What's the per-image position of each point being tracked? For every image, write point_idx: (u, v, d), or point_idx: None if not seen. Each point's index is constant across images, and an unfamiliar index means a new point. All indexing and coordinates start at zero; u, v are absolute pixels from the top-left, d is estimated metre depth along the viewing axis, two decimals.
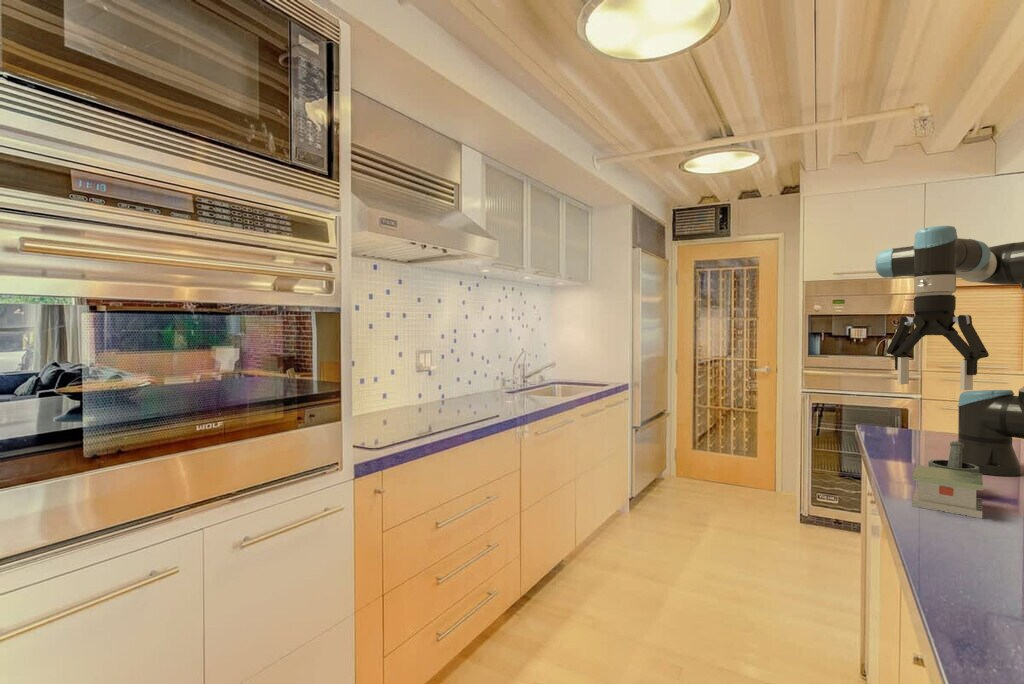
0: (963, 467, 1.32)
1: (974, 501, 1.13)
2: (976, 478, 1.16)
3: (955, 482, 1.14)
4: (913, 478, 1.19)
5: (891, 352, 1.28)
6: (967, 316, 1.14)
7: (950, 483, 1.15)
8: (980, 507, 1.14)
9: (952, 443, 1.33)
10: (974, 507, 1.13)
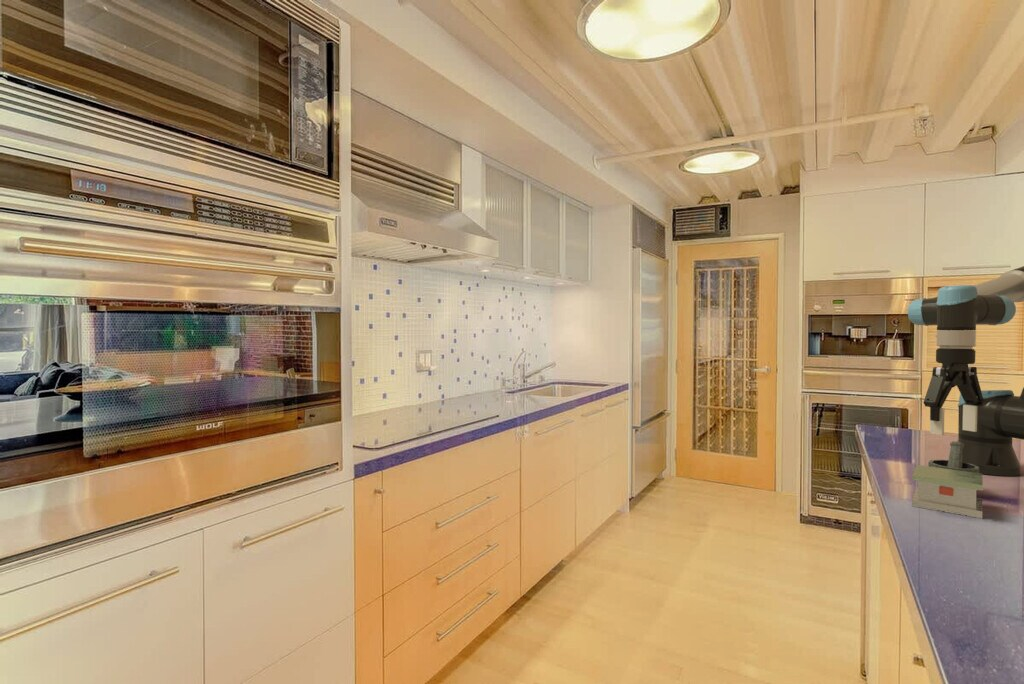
0: (963, 467, 1.32)
1: (974, 501, 1.13)
2: (976, 478, 1.16)
3: (955, 482, 1.14)
4: (913, 478, 1.19)
5: None
6: (938, 368, 1.28)
7: (950, 483, 1.15)
8: (980, 507, 1.14)
9: (952, 443, 1.33)
10: (974, 507, 1.13)
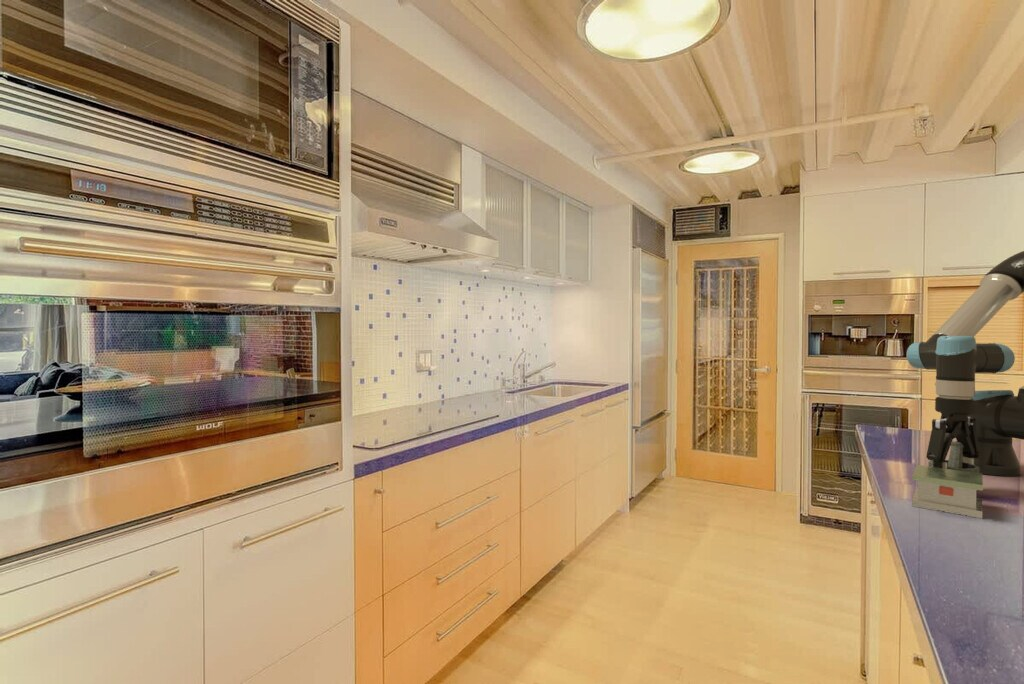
0: (963, 467, 1.32)
1: (974, 501, 1.13)
2: (976, 478, 1.16)
3: (955, 482, 1.14)
4: (913, 478, 1.19)
5: None
6: (937, 421, 1.28)
7: (950, 483, 1.15)
8: (980, 507, 1.14)
9: (952, 443, 1.33)
10: (974, 507, 1.13)
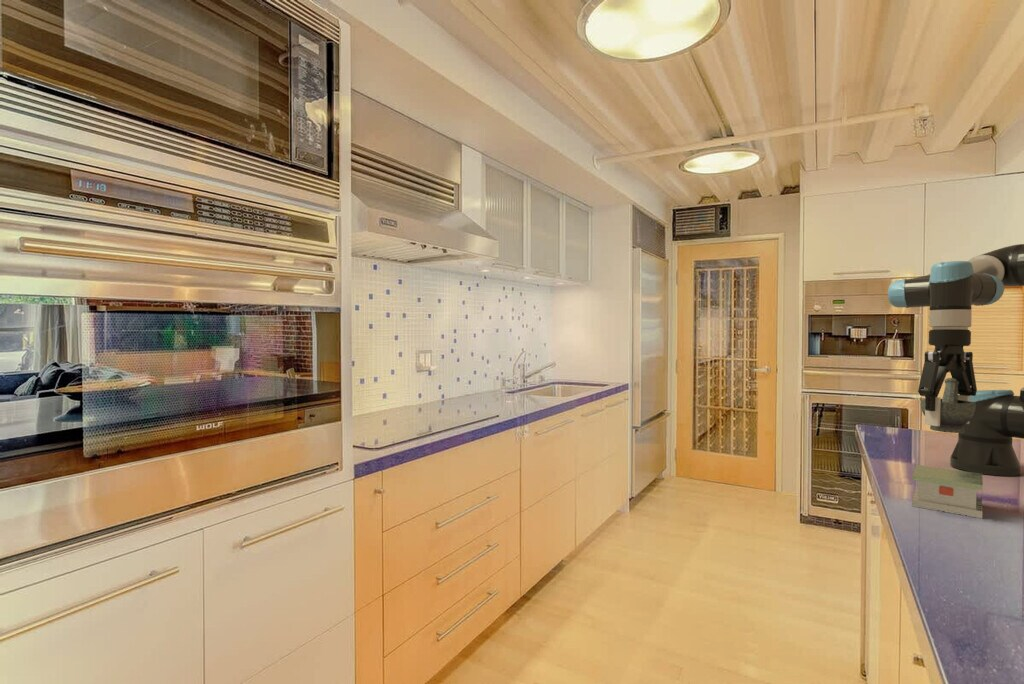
0: None
1: (974, 501, 1.13)
2: (976, 478, 1.16)
3: (955, 482, 1.14)
4: (913, 478, 1.19)
5: None
6: (930, 353, 1.18)
7: (950, 483, 1.15)
8: (980, 507, 1.14)
9: (947, 380, 1.24)
10: (974, 507, 1.13)
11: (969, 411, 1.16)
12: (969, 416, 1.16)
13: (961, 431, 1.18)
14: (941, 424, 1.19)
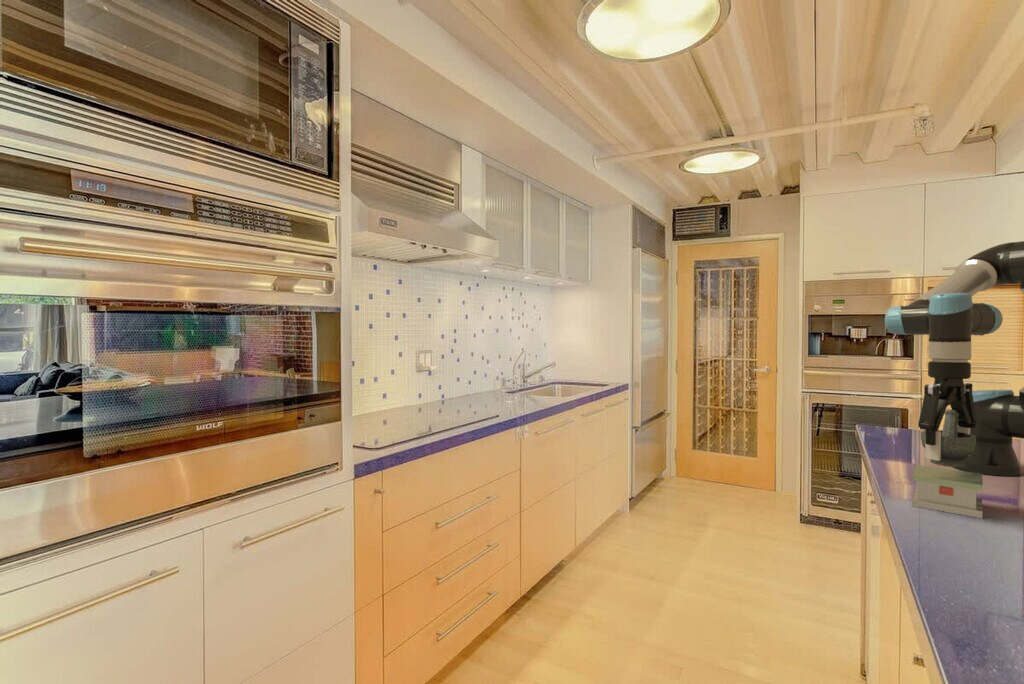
0: (959, 437, 1.21)
1: (974, 501, 1.13)
2: (976, 478, 1.16)
3: (955, 482, 1.14)
4: (913, 478, 1.19)
5: None
6: (930, 386, 1.17)
7: (950, 483, 1.15)
8: (980, 507, 1.14)
9: (947, 411, 1.22)
10: (974, 507, 1.13)
11: (970, 445, 1.15)
12: (970, 450, 1.15)
13: (962, 465, 1.17)
14: (941, 458, 1.18)
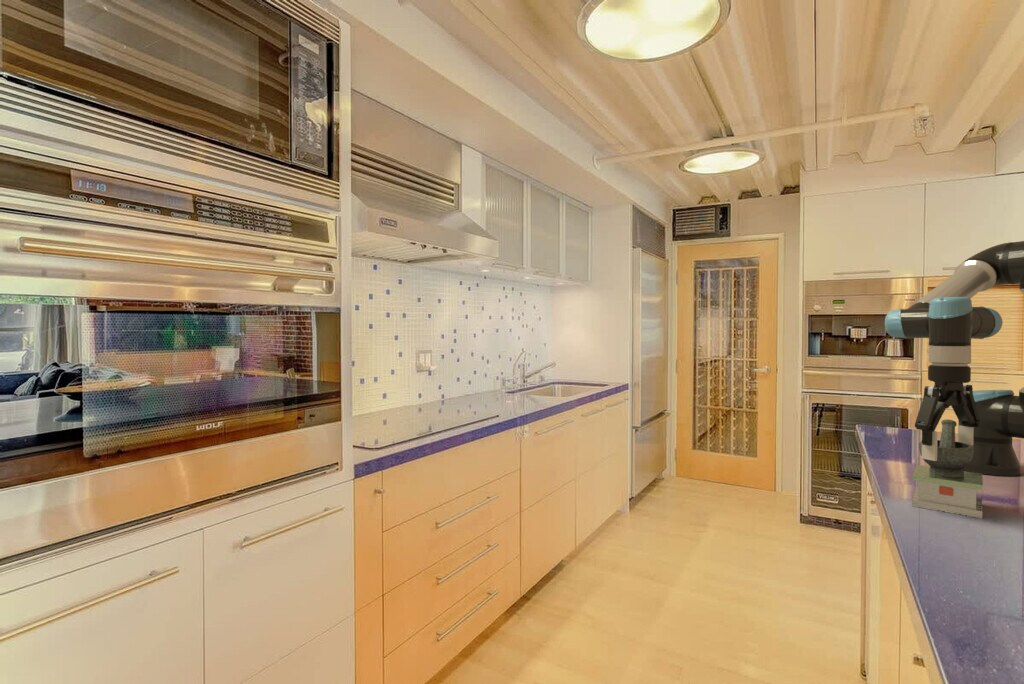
0: (956, 447, 1.21)
1: (974, 501, 1.13)
2: (976, 478, 1.16)
3: (955, 482, 1.14)
4: (913, 478, 1.19)
5: None
6: (930, 388, 1.17)
7: (950, 483, 1.15)
8: (980, 507, 1.14)
9: (943, 421, 1.23)
10: (974, 507, 1.13)
11: (968, 456, 1.15)
12: (968, 461, 1.15)
13: (961, 475, 1.17)
14: (940, 468, 1.18)
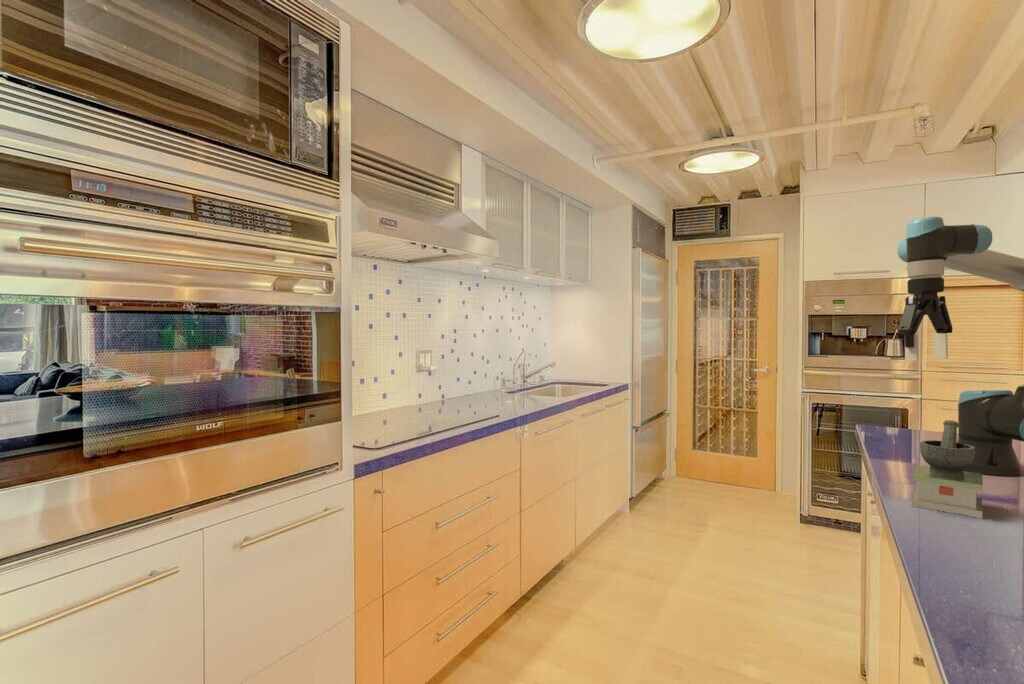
0: (957, 448, 1.21)
1: (974, 501, 1.13)
2: (976, 478, 1.16)
3: (955, 482, 1.14)
4: (913, 478, 1.19)
5: None
6: (911, 297, 1.33)
7: (950, 483, 1.15)
8: (980, 507, 1.14)
9: (946, 422, 1.23)
10: (974, 507, 1.13)
11: (969, 457, 1.15)
12: (969, 461, 1.15)
13: (961, 476, 1.17)
14: (941, 469, 1.18)
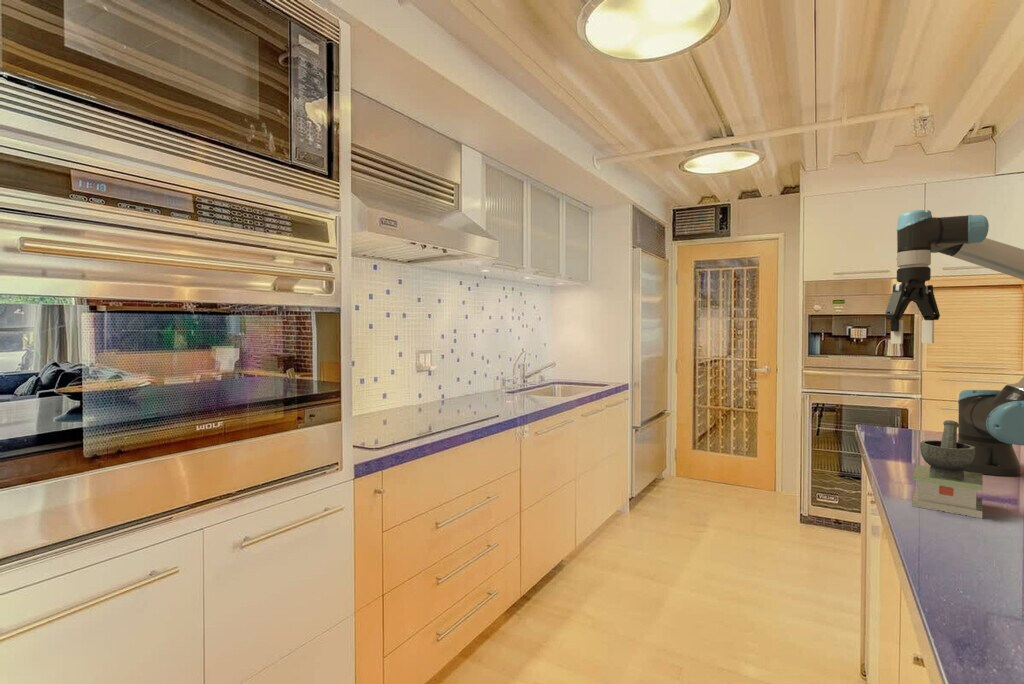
0: (957, 448, 1.21)
1: (974, 501, 1.13)
2: (976, 478, 1.16)
3: (955, 482, 1.14)
4: (913, 478, 1.19)
5: None
6: (897, 285, 1.43)
7: (950, 483, 1.15)
8: (980, 507, 1.14)
9: (946, 422, 1.23)
10: (974, 507, 1.13)
11: (969, 457, 1.15)
12: (969, 462, 1.15)
13: (961, 476, 1.17)
14: (941, 469, 1.18)
